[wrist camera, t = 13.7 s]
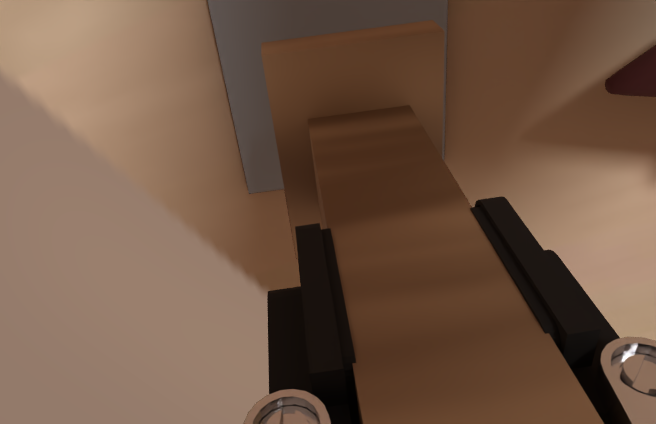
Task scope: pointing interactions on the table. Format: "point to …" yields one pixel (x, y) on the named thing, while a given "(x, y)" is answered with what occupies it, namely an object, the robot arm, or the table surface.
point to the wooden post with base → (408, 236)
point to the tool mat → (280, 24)
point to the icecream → (635, 77)
